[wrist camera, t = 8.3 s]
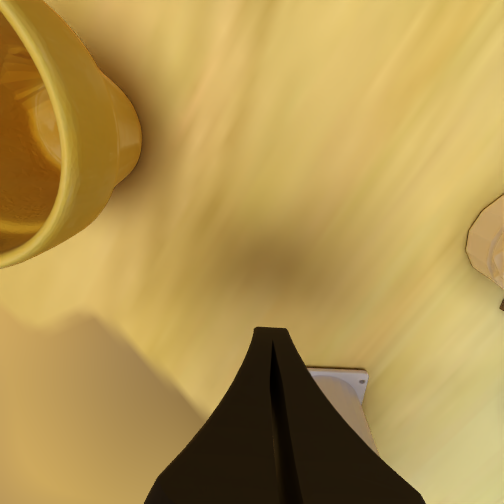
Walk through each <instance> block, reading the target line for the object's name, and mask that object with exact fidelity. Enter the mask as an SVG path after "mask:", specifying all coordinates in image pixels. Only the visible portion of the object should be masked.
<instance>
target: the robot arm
mask: <svg viewBox="0 0 504 504" xmlns="http://www.w3.org/2000/svg"><path fill="white" fill-rule="evenodd" d="M368 379H369V375H368V373H367V372H366V371H364V370H345V369H321V368H307V367H306V366H305V364H304V362H303V361H302V359H301V357H300V355H299V353H298V352H297V350H296V348H295V346H294V344H293V342H292V339H291V337H290V335H289V332H288V330H287V329H286V328H271V327H256V328H254V333H253V337H252V341H251V344H250V346H249V349H248V352H247V354H246V356H245V359H244V361H243V363H242V365H241V367H240V369H239V371H238V373H237V375H236V377H235V379H234V381H233V382H232V384H231V386H230V388H229V389H228V391H227V392H226V394H225V396H224V397H223V399H222V400H221V402H220V403H219V405H218V406H217V408H216V409H215V410H214V412H213V413H212V415H211V416H210V417H209V419H208V420H207V421H206V423H205V424H204V425H203V427H202V428H201V429H200V430H199V431H198V433H197V434H196V435H195V436H194V437H193V439H192V440H191V441H190V442H189V444H188V445H187V446H186V447H185V448H184V449H183V450H182V452H181V453H180V454H179V455H178V456H177V457H176V458H175V459H174V460H173V461H172V462H171V463H170V465H168V466H167V468H166V469H165V470H164V471H163V472H162V473H161V474H160V475H159V476H158V478H157V479H156V481H155V483H154V485H153V487H152V488H151V490H150V492H149V494H148V496H147V498H146V500H145V502H144V504H426V503H425V501H424V499H423V498H422V496H421V494H420V493H419V492H418V491H416V490H415V489H414V488H413V487H412V486H411V485H410V484H409V483H407V482H406V481H405V480H404V479H403V478H402V477H401V476H399V475H398V474H397V473H396V472H395V471H394V470H393V469H392V468H390V467H389V466H388V465H387V464H386V463H385V462H384V461H383V460H382V459H381V458H380V456H379V453H378V450H377V448H376V445H375V442H374V439H373V437H372V434H371V431H370V429H369V426H368V423H367V420H366V418H365V415H364V412H363V409H362V407H361V405H362V402H363V398H364V394H365V390H366V386H367V382H368ZM273 441H274V443H273Z"/></svg>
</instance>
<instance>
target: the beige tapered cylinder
mask: <svg viewBox="0 0 504 504" xmlns="http://www.w3.org/2000/svg"><path fill="white" fill-rule="evenodd" d="M466 252H467V254H468V257H469V259H470V262H471V264H472V266H473V267H474V268H475V269H476V270H478V271H479V272H481V273H482V274H484V275H485V276H487V277H488V278H489V279H491V280H492V281H494V282H495V283H496V284H497V285H499V286H500V287H501V288H502V289H503V290H504V195H503V196H501V197H500V198H499V199H497V200H496V201H495V202H493V203H492V204H491V205H489V206H488V207H487V208H485V209H484V210H483V211H482V212H481V214H480V215H479V217H478V218H477V220H476V221H475V223H474V224H473V226H472V227H471V229H470V230H469V234H468V240H467V246H466Z"/></svg>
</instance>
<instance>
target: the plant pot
mask: <svg viewBox="0 0 504 504" xmlns="http://www.w3.org/2000/svg"><path fill="white" fill-rule="evenodd" d="M141 147H142V132H141V126H140V122H139V119H138V116H137V114H136V111H135V109H134V107H133V105H132V104H131V102H130V101H129V99H128V98H127V96H126V95H125V94H124V92H123V91H122V90H121V89H120V88H119V87H118V86H117V85H116V84H115V83H114V82H112V81H111V80H110V79H109V78H108V77H107V76H106V75H105V74H103V73H102V72H101V71H100V70H99V69H98V67H97V65H96V63H95V61H94V60H93V58H92V57H91V55H90V53H89V52H88V50H87V49H86V47H85V46H84V45H83V43H82V42H81V40H80V39H79V38H78V36H77V35H76V34H75V33H74V31H73V30H72V29H71V28H70V27H69V26H68V25H67V23H66V22H65V21H64V20H63V19H62V18H61V17H60V16H59V15H58V14H57V13H56V12H55V11H54V10H53V9H52V8H51V7H50V6H49V5H48V4H46V3H45V2H44V1H43V0H0V269H1V268H6V267H9V266H13V265H16V264H19V263H22V262H24V261H26V260H28V259H31V258H33V257H35V256H37V255H39V254H41V253H43V252H45V251H47V250H49V249H51V248H53V247H55V246H57V245H59V244H60V243H62V242H64V241H66V240H67V239H69V238H71V237H72V236H74V235H76V234H77V233H79V232H80V231H82V230H83V229H85V228H86V227H87V226H88V225H90V224H91V223H92V222H93V221H94V220H95V219H96V218H97V216H98V215H99V214H100V213H101V212H102V210H103V209H104V207H105V206H106V204H107V202H108V201H109V199H110V197H111V194H112V192H113V189H114V187H115V186H116V185H117V184H118V183H119V182H121V181H122V180H123V179H124V178H125V177H126V176H127V175H128V174H129V173H130V172H131V171H132V170H133V169H134V167H135V165H136V164H137V162H138V159H139V157H140V153H141Z"/></svg>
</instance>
